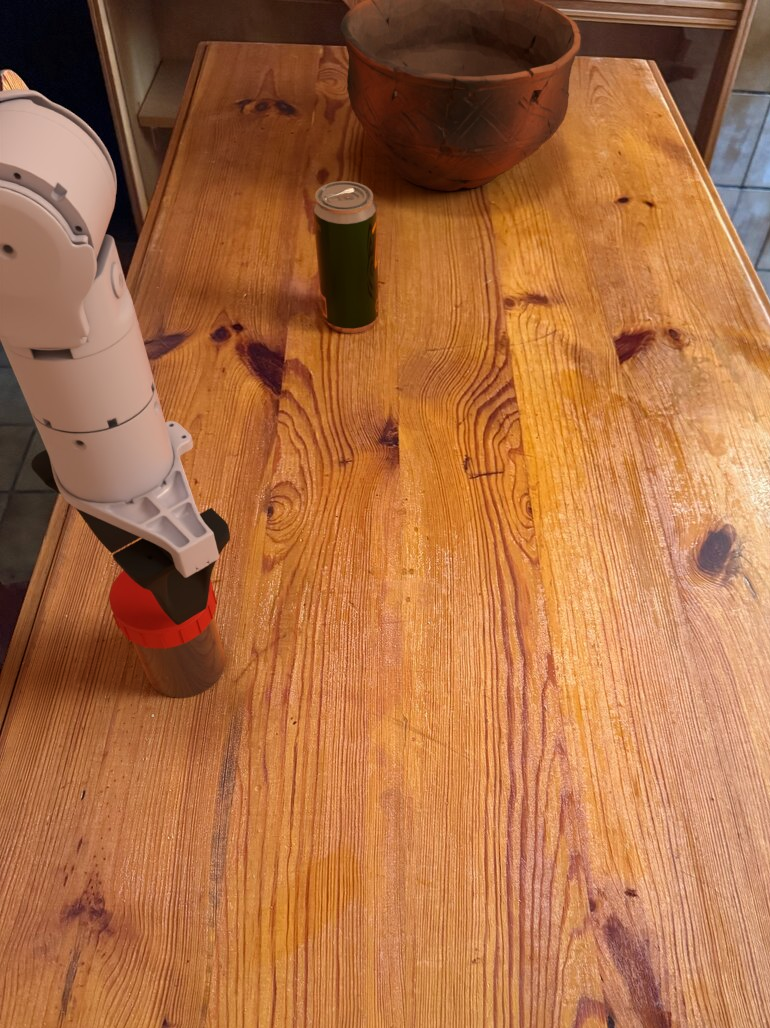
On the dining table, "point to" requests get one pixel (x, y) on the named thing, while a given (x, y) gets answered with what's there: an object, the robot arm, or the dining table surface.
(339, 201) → the beer can
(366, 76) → the bowl
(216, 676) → the jar
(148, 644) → the jar lid
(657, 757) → the dining table surface
